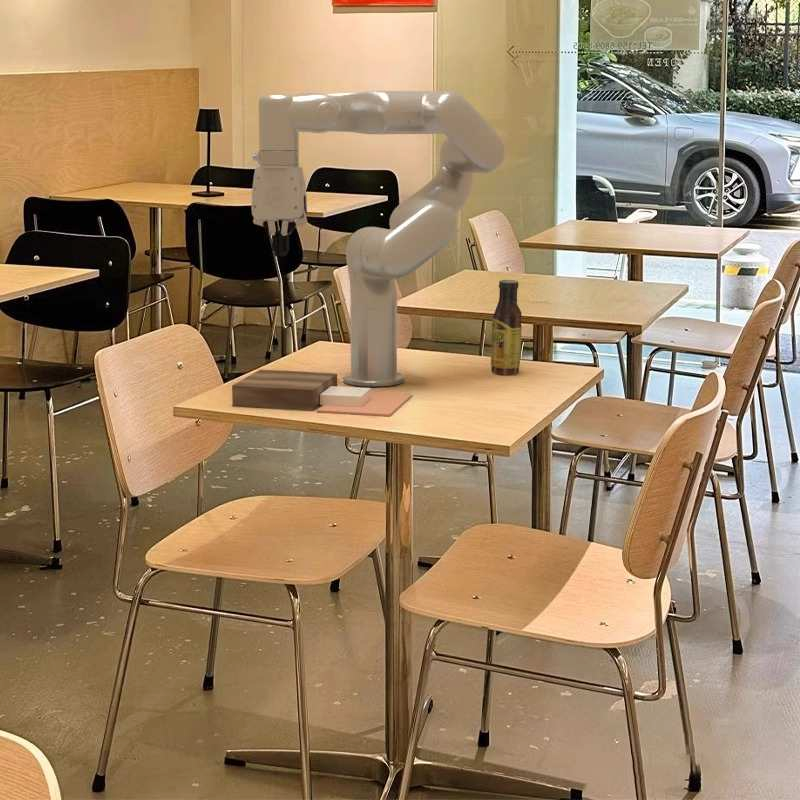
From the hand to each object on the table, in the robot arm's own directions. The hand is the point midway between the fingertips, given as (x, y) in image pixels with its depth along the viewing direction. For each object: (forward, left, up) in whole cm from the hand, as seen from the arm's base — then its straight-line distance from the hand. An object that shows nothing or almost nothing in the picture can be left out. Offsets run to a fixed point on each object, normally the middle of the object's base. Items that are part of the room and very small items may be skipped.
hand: (280, 255), depth 265 cm
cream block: (+8, +15, -27) cm, 32 cm away
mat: (+7, +19, -27) cm, 34 cm away
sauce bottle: (-29, +40, -27) cm, 56 cm away
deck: (+7, +3, -27) cm, 28 cm away
